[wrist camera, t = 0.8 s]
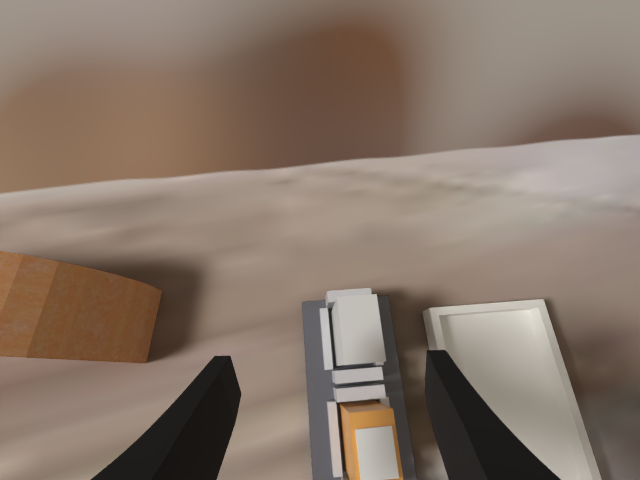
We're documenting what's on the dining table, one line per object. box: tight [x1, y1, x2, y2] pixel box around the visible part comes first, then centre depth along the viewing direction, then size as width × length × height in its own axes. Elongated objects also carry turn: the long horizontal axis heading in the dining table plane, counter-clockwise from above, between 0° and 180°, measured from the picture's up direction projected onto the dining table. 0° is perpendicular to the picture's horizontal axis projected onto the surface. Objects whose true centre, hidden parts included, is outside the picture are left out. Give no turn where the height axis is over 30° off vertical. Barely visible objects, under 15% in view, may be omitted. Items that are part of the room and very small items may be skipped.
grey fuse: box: [331, 294, 386, 366], centre depth 23 cm, size 4×2×6 cm, turn 5°
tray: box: [422, 299, 602, 480], centre depth 24 cm, size 15×9×2 cm, turn 5°
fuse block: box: [302, 288, 417, 480], centre depth 23 cm, size 19×7×4 cm, turn 5°
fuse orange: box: [339, 400, 403, 480], centre depth 21 cm, size 4×2×6 cm, turn 5°
